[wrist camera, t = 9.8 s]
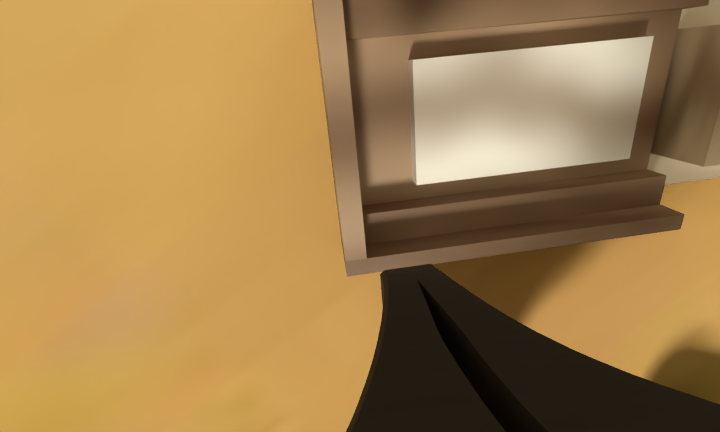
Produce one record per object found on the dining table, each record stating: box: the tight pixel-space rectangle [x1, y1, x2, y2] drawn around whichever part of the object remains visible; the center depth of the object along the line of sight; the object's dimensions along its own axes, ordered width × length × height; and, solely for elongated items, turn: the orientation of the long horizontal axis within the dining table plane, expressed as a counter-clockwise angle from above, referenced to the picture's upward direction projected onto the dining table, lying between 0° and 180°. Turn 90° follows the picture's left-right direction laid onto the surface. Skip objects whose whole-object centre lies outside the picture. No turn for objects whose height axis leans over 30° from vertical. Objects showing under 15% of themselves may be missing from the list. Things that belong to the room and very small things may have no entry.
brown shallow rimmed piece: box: [312, 0, 709, 276], centre depth 17 cm, size 12×17×3 cm
